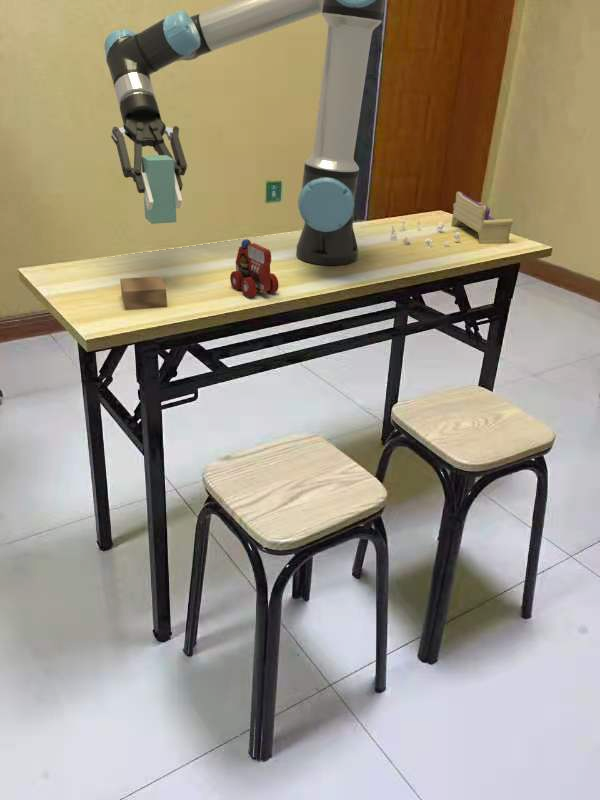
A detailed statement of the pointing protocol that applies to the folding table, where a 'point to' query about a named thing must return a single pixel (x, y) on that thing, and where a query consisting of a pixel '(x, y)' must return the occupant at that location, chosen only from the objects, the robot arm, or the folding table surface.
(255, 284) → the toy fire truck
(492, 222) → the toy sofa
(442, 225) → the game piece set
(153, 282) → the slab
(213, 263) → the folding table surface
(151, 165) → the pillar
